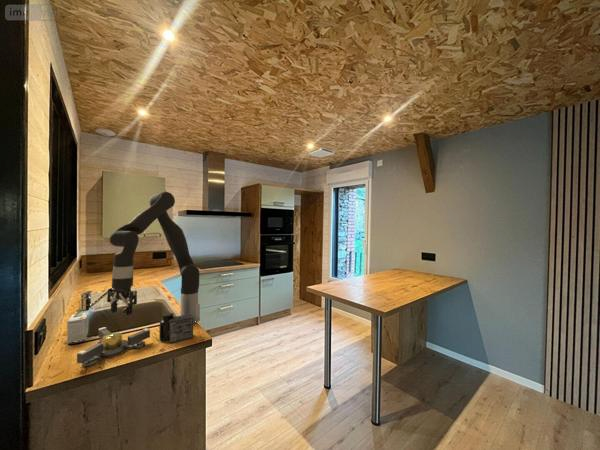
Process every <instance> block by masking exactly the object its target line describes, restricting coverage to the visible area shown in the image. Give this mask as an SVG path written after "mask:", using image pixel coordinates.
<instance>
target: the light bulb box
mask: <svg viewBox="0 0 600 450" xmlns="http://www.w3.org/2000/svg"><path fill="white" fill-rule="evenodd" d="M66 323H67V325H66V328H67V329H66V336H67V337H66V338H67V339H66V344H67V345H70V344H71V343H70V342H74V341H80V342H83V341H82V340H85V341H86V340H87V337H88V335H89V334H88V333H89V311H87V312H86V311H85V312H81V313H74V314H71V315H70V317H69V319H68V320H67V321H66ZM69 343H70V344H69Z"/></svg>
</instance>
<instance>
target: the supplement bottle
mask: <svg viewBox="0 0 600 450" xmlns="http://www.w3.org/2000/svg"><path fill="white" fill-rule="evenodd" d="M173 317H174V313H173V312H164V313H163V314H162V315H161V320H160V321H159V335H158V337H159V341H160V342H164V343H165V342H169V319H172V318H173Z"/></svg>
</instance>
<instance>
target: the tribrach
mask: <svg viewBox="0 0 600 450" xmlns="http://www.w3.org/2000/svg"><path fill="white" fill-rule="evenodd" d="M97 343H102V344H103V352H102V353H100V354H98V355H96V356H95V357H94V360H92V361H86V362H84V363H81V367H82V368H90V367H92V366H95V365H97V364H98V363H99V361H101V360H102V359H107V358H112V357H116V356H119V355H121V354H123V353H125V352H126V351H127V350H132V349H133V350H138V349H142V348H144V347H146V341H145V340H142V343H141V344H133V345H128V339H123V333H122V332H111V334H108V335H105V336H104V337H103V338H102V342H101V340H99V341H97Z"/></svg>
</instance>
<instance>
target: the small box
mask: <svg viewBox="0 0 600 450" xmlns="http://www.w3.org/2000/svg"><path fill="white" fill-rule="evenodd" d="M191 339H194V324H193V316H192V314H187V315H182V316H181V315H179V316H173V318H172V319H169V341H168V343H169V344H173V343H177V342H181V341H186V340H187V341H188V340H191Z"/></svg>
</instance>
